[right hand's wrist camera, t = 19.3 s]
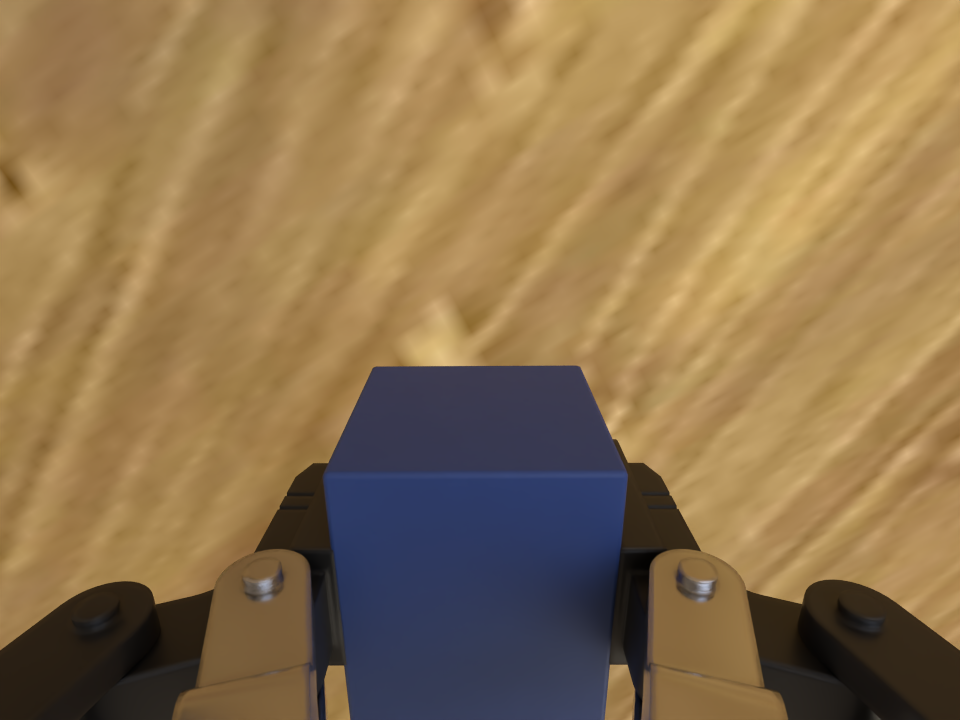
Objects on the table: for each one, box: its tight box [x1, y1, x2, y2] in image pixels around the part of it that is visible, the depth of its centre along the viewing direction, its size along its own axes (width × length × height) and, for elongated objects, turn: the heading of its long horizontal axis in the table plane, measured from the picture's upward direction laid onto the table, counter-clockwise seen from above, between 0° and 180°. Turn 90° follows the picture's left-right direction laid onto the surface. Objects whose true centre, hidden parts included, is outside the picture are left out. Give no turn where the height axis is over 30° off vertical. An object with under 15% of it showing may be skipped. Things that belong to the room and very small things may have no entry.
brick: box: [323, 366, 628, 720], centre depth 11 cm, size 4×5×4 cm
